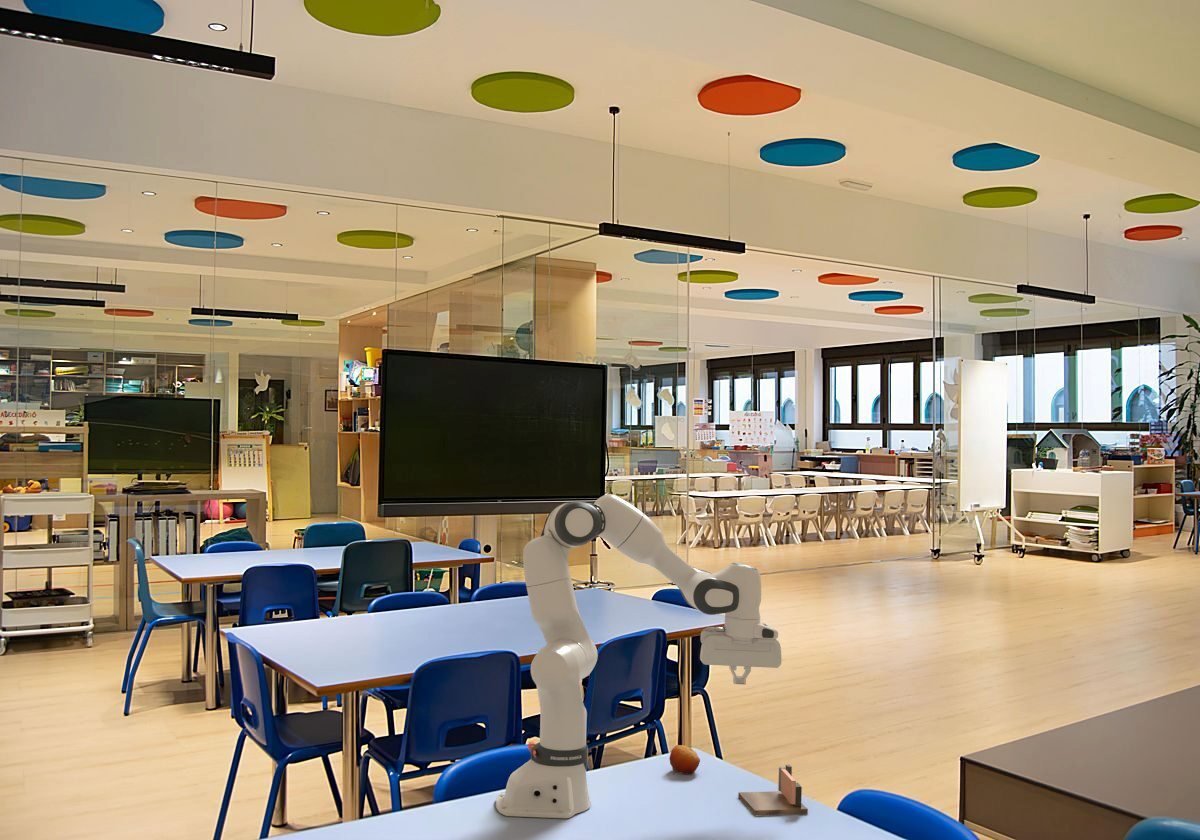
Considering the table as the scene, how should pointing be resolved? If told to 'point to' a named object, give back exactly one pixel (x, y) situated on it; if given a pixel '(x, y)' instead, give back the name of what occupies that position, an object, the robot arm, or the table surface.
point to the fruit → (684, 759)
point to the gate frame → (773, 801)
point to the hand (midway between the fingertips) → (739, 683)
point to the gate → (787, 785)
